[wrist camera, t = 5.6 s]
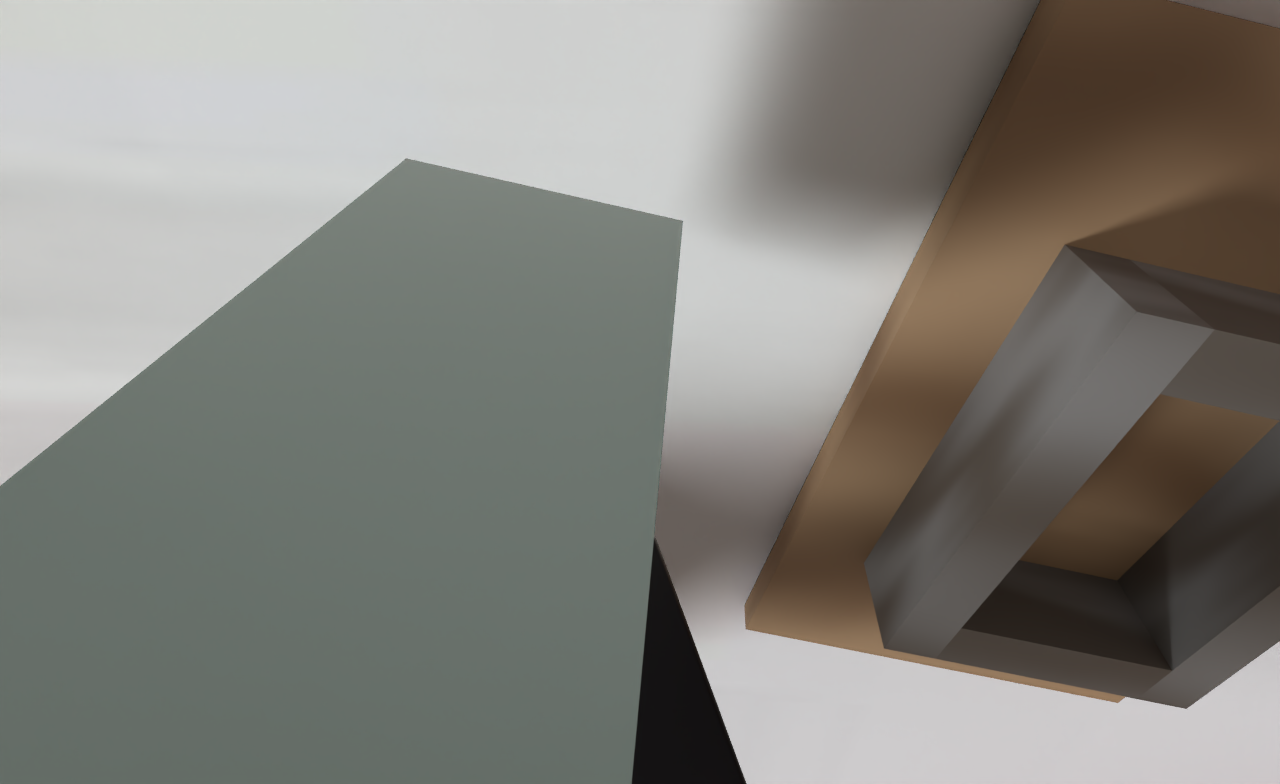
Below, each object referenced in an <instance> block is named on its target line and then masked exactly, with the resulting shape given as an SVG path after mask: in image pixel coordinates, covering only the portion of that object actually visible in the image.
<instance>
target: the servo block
mask: <svg viewBox="0 0 1280 784" xmlns="http://www.w3.org/2000/svg"><path fill="white" fill-rule="evenodd" d="M682 225H683V221H681V220H676V219H672V218H667V217H663V216H658V215H654V214H650V213H645V212H641V211H636V210H632V209H627V208H623V207H619V206H614V205H610V204H605V203H601V202H596V201H592V200H588V199H583V198H579V197H574V196H570V195H565V194H561V193H557V192H552V191H548V190H543V189H539V188H534V187H530V186H526V185H521V184H517V183H512V182H508V181H504V180H499V179H495V178H490V177H486V176H481V175H477V174H473V173H468V172H464V171H459V170H455V169H450V168H446V167H442V166H437V165H433V164H428V163H424V162H419V161H415V160H411V159H405V160H404V161H403V162H402V163H400V164H399V165H398V166H397V167H395V168H394V169H393V170H392V171H390V172H389V173H388V174H387V175H385V176H384V177H383V178H382V179H380V180H379V181H378V182H377V183H375V184H374V185H373V186H372V187H371V188H369V189H368V190H367V191H366V192H364V193H363V194H362V195H361V196H359V197H358V198H357V199H356V200H354V201H353V202H352V203H351V204H349V205H348V206H347V207H346V208H344V209H343V210H342V211H341V212H339V213H338V214H337V215H336V216H335V217H333V218H332V219H331V220H330V221H328V222H327V223H326V224H325V225H323V226H322V227H321V228H320V229H318V230H317V231H316V232H315V233H313V234H312V235H311V236H310V237H308V238H307V239H306V240H305V241H304V242H302V243H301V244H300V245H299V246H297V247H296V248H295V249H294V250H292V251H291V252H290V253H289V254H287V255H286V256H285V257H284V258H282V259H281V260H280V261H279V262H277V263H276V264H275V265H274V266H273V267H271V268H270V269H269V270H268V271H266V272H265V273H264V274H263V275H261V276H260V277H259V278H258V279H256V280H255V281H254V282H253V283H251V284H250V285H249V286H248V287H246V288H245V289H244V290H243V291H242V292H240V293H239V294H238V295H237V296H235V297H234V298H233V299H232V300H230V301H229V302H228V303H227V304H225V305H224V306H223V307H222V308H220V309H219V310H218V311H217V312H215V313H214V314H213V315H212V316H211V317H209V318H208V319H207V320H206V321H204V322H203V323H202V324H201V325H199V326H198V327H197V328H196V329H194V330H193V331H192V332H191V333H189V334H188V335H187V336H186V337H184V338H183V339H182V340H181V341H180V342H178V343H177V344H176V345H175V346H173V347H172V348H171V349H170V350H168V351H167V352H166V353H165V354H163V355H162V356H161V357H160V358H158V359H157V360H156V361H155V362H153V363H152V364H151V365H150V366H149V367H147V368H146V369H145V370H144V371H142V372H141V373H140V374H139V375H137V376H136V377H135V378H134V379H132V380H131V381H130V382H129V383H127V384H126V385H125V386H124V387H122V388H121V389H120V390H119V391H118V392H116V393H115V394H114V395H113V396H111V397H110V398H109V399H108V400H106V401H105V402H104V403H103V404H101V405H100V406H99V407H98V408H96V409H95V410H94V411H93V412H91V413H90V414H89V415H88V416H86V417H85V418H84V419H83V420H82V421H80V422H79V423H78V424H77V425H75V426H74V427H73V428H72V429H70V430H69V431H68V432H67V433H65V434H64V435H63V436H62V437H60V438H59V439H58V440H57V441H55V442H54V443H53V444H52V445H51V446H49V447H48V448H47V449H46V450H44V451H43V452H42V453H41V454H39V455H38V456H37V457H36V458H34V459H33V460H32V461H31V462H29V463H28V464H27V465H26V466H24V467H23V468H22V469H21V470H20V471H18V472H17V473H16V474H15V475H13V476H12V477H11V478H10V479H8V480H7V481H6V482H5V483H3V484H2V485H1V486H0V784H632V773H633V762H634V751H635V740H636V729H637V718H638V707H639V696H640V686H641V675H642V664H643V653H644V642H645V631H646V620H647V609H648V598H649V587H650V576H651V565H652V554H653V543H654V532H655V521H656V510H657V499H658V488H659V477H660V466H661V455H662V444H663V433H664V422H665V411H666V400H667V390H668V379H669V368H670V357H671V346H672V335H673V324H674V313H675V302H676V291H677V280H678V269H679V258H680V247H681V236H682Z"/></svg>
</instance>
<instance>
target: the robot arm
mask: <svg viewBox="0 0 1280 784" xmlns="http://www.w3.org/2000/svg"><path fill="white" fill-rule="evenodd" d="M632 784H746V781H745V779H744V776H743V773H742V770H741V768H740V765H739V762H738V760H737V757H736V754H735V752H734V749H733V746H732V743H731V741H730V738H729V735H728V733H727V730H726V727H725V724H724V722H723V719H722V716H721V714H720V711H719V708H718V705H717V703H716V700H715V697H714V695H713V692H712V689H711V687H710V684H709V681H708V678H707V676H706V673H705V670H704V668H703V665H702V662H701V659H700V657H699V654H698V651H697V649H696V646H695V643H694V640H693V638H692V635H691V632H690V630H689V627H688V624H687V621H686V619H685V616H684V613H683V611H682V608H681V605H680V603H679V600H678V597H677V594H676V592H675V589H674V586H673V584H672V581H671V578H670V575H669V573H668V570H667V567H666V565H665V562H664V559H663V556H662V554H661V551H660V548H659V546H658V543H657V540H656V538H655V537H654V543H653V554H652V565H651V576H650V587H649V598H648V609H647V620H646V631H645V642H644V653H643V664H642V675H641V686H640V696H639V707H638V718H637V729H636V740H635V751H634V762H633V773H632Z"/></svg>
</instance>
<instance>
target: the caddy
mask: <svg viewBox="0 0 1280 784" xmlns="http://www.w3.org/2000/svg"><path fill="white" fill-rule="evenodd" d="M745 624H746V629H748V630H753V631H758V632H763V633H768V634H773V635H778V636H783V637H788V638H793V639H798V640H803V641H808V642H813V643H818V644H823V645H828V646H833V647H839V648H844V649H849V650H854V651H859V652H864V653H869V654H874V655H879V656H884V657H889V658H894V659H899V660H904V661H909V662H914V663H919V664H924V665H929V666H934V667H940V668H945V669H950V670H955V671H960V672H965V673H970V674H975V675H980V676H985V677H990V678H995V679H1000V680H1005V681H1010V682H1015V683H1020V684H1025V685H1030V686H1035V687H1041V688H1046V689H1051V690H1056V691H1061V692H1066V693H1071V694H1076V695H1081V696H1086V697H1091V698H1096V699H1101V700H1106V701H1111V702H1116V703H1118V702H1120V701H1121V700H1122V699H1123V698H1125V697H1130V698H1135V699H1140V700H1145V701H1150V702H1155V703H1160V704H1165V705H1170V706H1175V707H1180V708H1185V709H1187V708H1188V707H1189V706H1191V705H1192V704H1193V703H1195V702H1196V701H1198V700H1199V699H1200V698H1202V697H1203V696H1204V695H1206V694H1207V693H1209V692H1210V691H1211V690H1213V689H1214V688H1215V687H1217V686H1218V685H1220V684H1221V683H1222V682H1224V681H1225V680H1227V679H1228V678H1229V677H1231V676H1232V675H1233V674H1235V673H1236V672H1238V671H1239V670H1240V669H1242V668H1243V667H1244V666H1246V665H1247V664H1249V663H1250V662H1251V661H1253V660H1254V659H1255V658H1257V657H1258V656H1260V655H1261V654H1262V653H1264V652H1265V651H1266V650H1268V649H1269V648H1271V647H1272V646H1273V645H1275V644H1276V643H1277V642H1279V641H1280V28H1276V27H1272V26H1268V25H1264V24H1260V23H1256V22H1252V21H1248V20H1244V19H1240V18H1236V17H1232V16H1228V15H1224V14H1220V13H1216V12H1212V11H1208V10H1204V9H1200V8H1196V7H1192V6H1188V5H1184V4H1180V3H1176V2H1172V1H1168V0H1041V1H1040V3H1039V5H1038V7H1037V9H1036V11H1035V13H1034V15H1033V17H1032V19H1031V21H1030V23H1029V25H1028V27H1027V29H1026V31H1025V33H1024V36H1023V38H1022V40H1021V42H1020V44H1019V46H1018V48H1017V50H1016V52H1015V54H1014V56H1013V58H1012V60H1011V62H1010V64H1009V66H1008V68H1007V70H1006V72H1005V74H1004V76H1003V78H1002V80H1001V82H1000V85H999V87H998V89H997V91H996V93H995V95H994V97H993V99H992V101H991V103H990V105H989V107H988V109H987V111H986V113H985V115H984V117H983V119H982V121H981V123H980V125H979V127H978V129H977V132H976V134H975V136H974V138H973V140H972V142H971V144H970V146H969V148H968V150H967V152H966V154H965V156H964V158H963V160H962V162H961V164H960V166H959V168H958V170H957V172H956V174H955V176H954V178H953V181H952V183H951V185H950V187H949V189H948V191H947V193H946V195H945V197H944V199H943V201H942V203H941V205H940V207H939V209H938V211H937V213H936V215H935V217H934V219H933V221H932V223H931V225H930V228H929V230H928V232H927V234H926V236H925V238H924V240H923V242H922V244H921V246H920V248H919V250H918V252H917V254H916V256H915V258H914V260H913V262H912V264H911V266H910V268H909V270H908V272H907V274H906V277H905V279H904V281H903V283H902V285H901V287H900V289H899V291H898V293H897V295H896V297H895V299H894V301H893V303H892V305H891V307H890V309H889V311H888V313H887V315H886V317H885V319H884V321H883V324H882V326H881V328H880V330H879V332H878V334H877V336H876V338H875V340H874V342H873V344H872V346H871V348H870V350H869V352H868V354H867V356H866V358H865V360H864V362H863V364H862V366H861V368H860V370H859V373H858V375H857V377H856V379H855V381H854V383H853V385H852V387H851V389H850V391H849V393H848V395H847V397H846V399H845V401H844V403H843V405H842V407H841V409H840V411H839V413H838V415H837V417H836V420H835V422H834V424H833V426H832V428H831V430H830V432H829V434H828V436H827V438H826V440H825V442H824V444H823V446H822V448H821V450H820V452H819V454H818V456H817V458H816V460H815V462H814V464H813V466H812V469H811V471H810V473H809V475H808V477H807V479H806V481H805V483H804V485H803V487H802V489H801V491H800V493H799V495H798V497H797V499H796V501H795V503H794V505H793V507H792V509H791V511H790V513H789V516H788V518H787V520H786V522H785V524H784V526H783V528H782V530H781V532H780V534H779V536H778V538H777V540H776V542H775V544H774V546H773V548H772V550H771V552H770V554H769V556H768V558H767V560H766V563H765V565H764V567H763V569H762V571H761V573H760V575H759V577H758V579H757V581H756V583H755V585H754V587H753V589H752V591H751V593H750V595H749V597H748V599H747V601H746V603H745Z"/></svg>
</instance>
